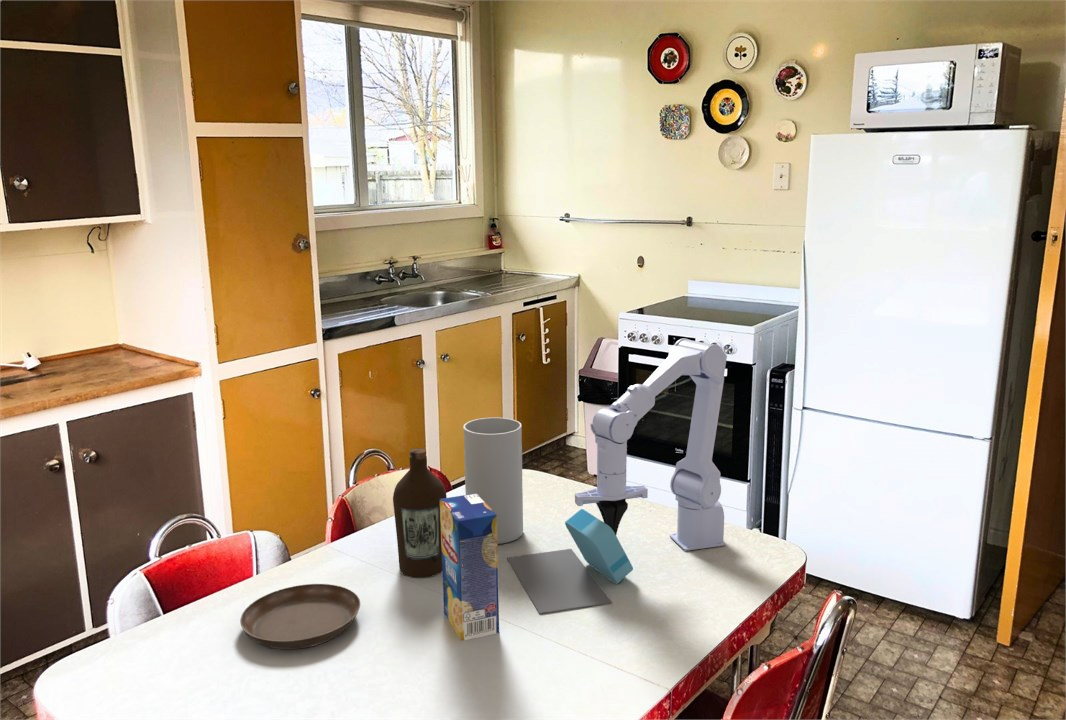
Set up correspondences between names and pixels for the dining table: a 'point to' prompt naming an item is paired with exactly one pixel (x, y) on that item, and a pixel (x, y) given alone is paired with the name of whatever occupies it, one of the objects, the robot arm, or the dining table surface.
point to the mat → (557, 581)
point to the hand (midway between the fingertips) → (611, 535)
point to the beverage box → (469, 566)
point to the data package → (599, 545)
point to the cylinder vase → (496, 471)
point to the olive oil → (419, 519)
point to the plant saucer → (300, 615)
